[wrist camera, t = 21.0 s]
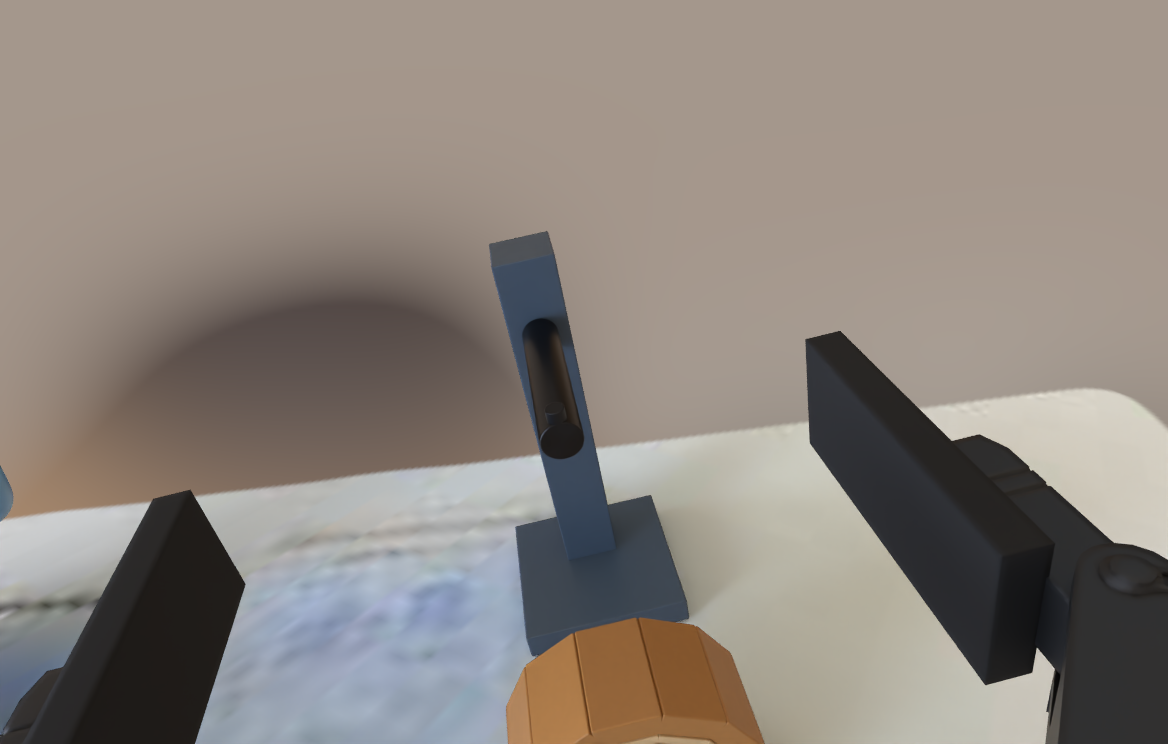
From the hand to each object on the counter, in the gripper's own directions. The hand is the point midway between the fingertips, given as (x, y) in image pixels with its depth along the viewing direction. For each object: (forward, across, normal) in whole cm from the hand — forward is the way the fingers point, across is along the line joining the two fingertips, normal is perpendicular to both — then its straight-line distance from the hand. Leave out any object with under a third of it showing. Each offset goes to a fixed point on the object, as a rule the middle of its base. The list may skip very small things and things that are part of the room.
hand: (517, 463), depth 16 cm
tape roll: (+6, +1, -20) cm, 21 cm away
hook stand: (+18, +1, -24) cm, 31 cm away
